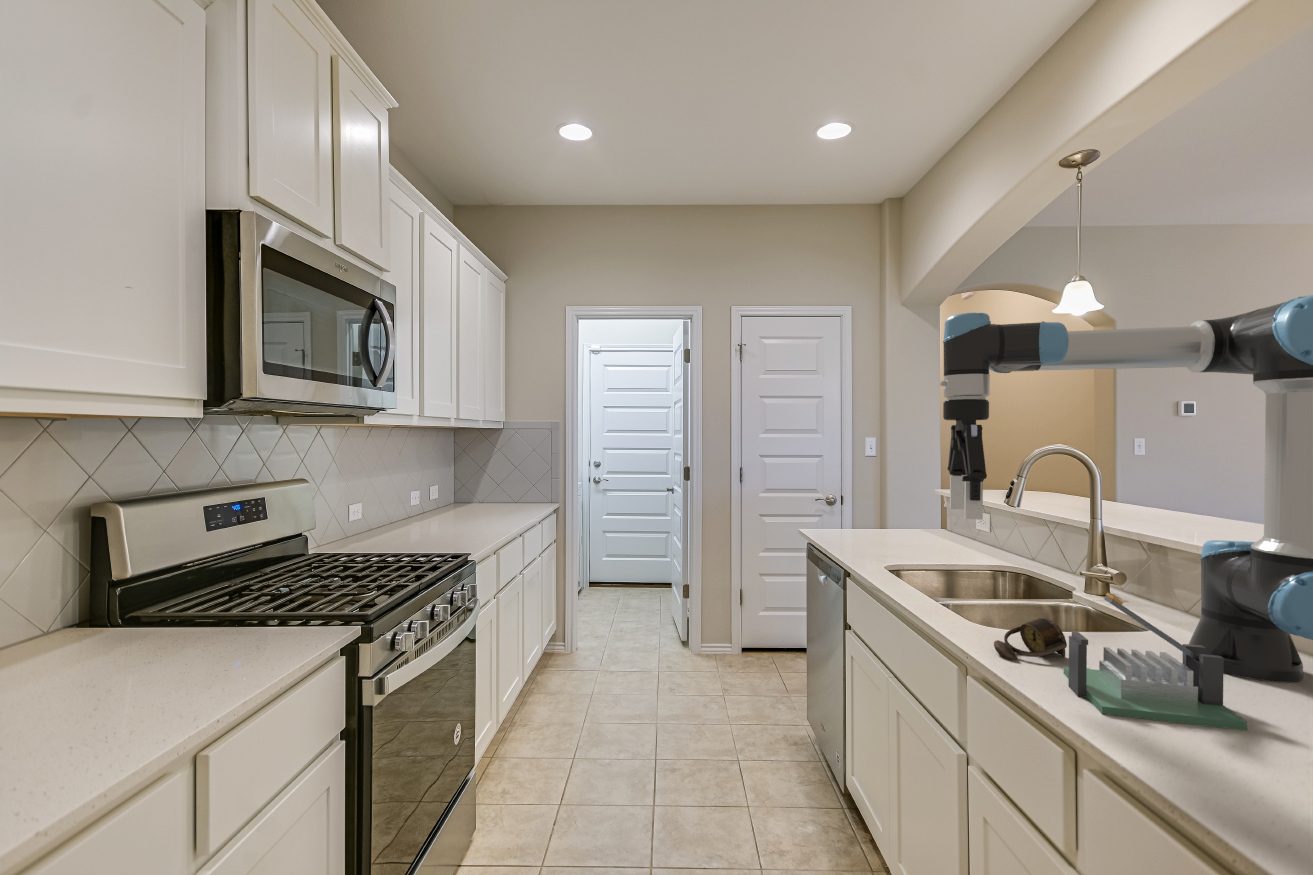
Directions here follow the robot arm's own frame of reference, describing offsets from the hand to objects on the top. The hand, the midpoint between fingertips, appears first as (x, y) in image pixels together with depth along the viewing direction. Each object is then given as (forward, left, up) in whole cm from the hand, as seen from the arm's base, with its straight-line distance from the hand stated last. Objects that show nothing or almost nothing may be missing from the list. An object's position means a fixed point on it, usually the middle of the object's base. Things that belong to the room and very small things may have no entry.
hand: (965, 513), depth 111 cm
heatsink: (-25, +8, -27) cm, 38 cm away
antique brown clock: (-13, -9, -28) cm, 33 cm away
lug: (-16, +8, -28) cm, 33 cm away
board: (-25, +8, -28) cm, 38 cm away
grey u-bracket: (-33, +8, -27) cm, 43 cm away
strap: (-26, +8, -17) cm, 32 cm away
